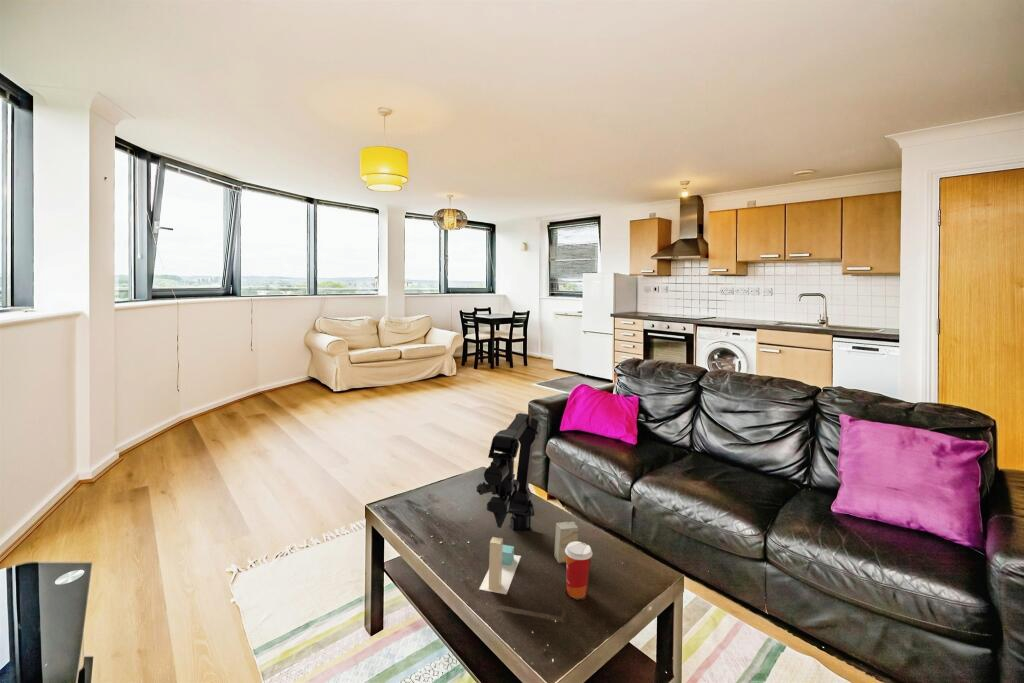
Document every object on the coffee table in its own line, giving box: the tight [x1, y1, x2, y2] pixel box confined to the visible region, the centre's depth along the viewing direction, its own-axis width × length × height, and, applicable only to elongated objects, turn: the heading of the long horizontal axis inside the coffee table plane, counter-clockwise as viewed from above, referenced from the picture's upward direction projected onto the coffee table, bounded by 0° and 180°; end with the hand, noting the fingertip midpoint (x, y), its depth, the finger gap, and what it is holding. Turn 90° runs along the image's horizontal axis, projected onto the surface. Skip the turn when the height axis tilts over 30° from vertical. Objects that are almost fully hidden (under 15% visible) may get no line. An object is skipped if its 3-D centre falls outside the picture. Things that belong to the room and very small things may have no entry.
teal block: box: [502, 544, 515, 566], centre depth 146 cm, size 4×4×4 cm
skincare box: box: [553, 520, 579, 564], centre depth 149 cm, size 6×4×12 cm
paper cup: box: [565, 541, 593, 598], centre depth 133 cm, size 8×8×14 cm
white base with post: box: [478, 536, 522, 595], centre depth 140 cm, size 20×8×15 cm, turn 167°
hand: (503, 520), depth 148 cm, fingers open, 9 cm apart
